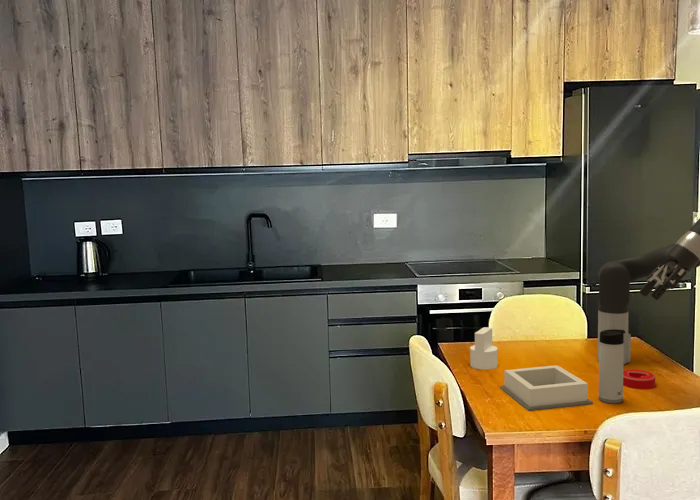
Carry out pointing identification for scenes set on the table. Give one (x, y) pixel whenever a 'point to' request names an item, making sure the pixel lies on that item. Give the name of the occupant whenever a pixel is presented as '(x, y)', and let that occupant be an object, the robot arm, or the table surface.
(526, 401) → the square shallow tray
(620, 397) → the travel mug
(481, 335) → the cylinder with rectangular tab
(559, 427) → the table surface
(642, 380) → the decorative ornament
